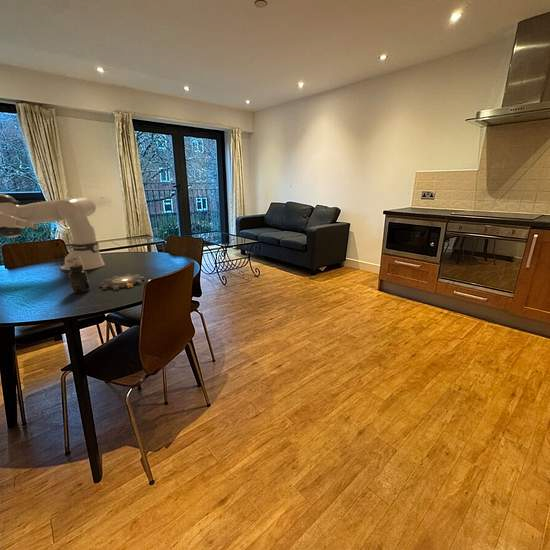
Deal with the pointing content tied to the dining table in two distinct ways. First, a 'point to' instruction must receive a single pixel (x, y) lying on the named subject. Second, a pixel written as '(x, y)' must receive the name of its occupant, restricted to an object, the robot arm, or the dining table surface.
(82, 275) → the supplement bottle
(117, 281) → the sprocket plate
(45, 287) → the dining table surface
